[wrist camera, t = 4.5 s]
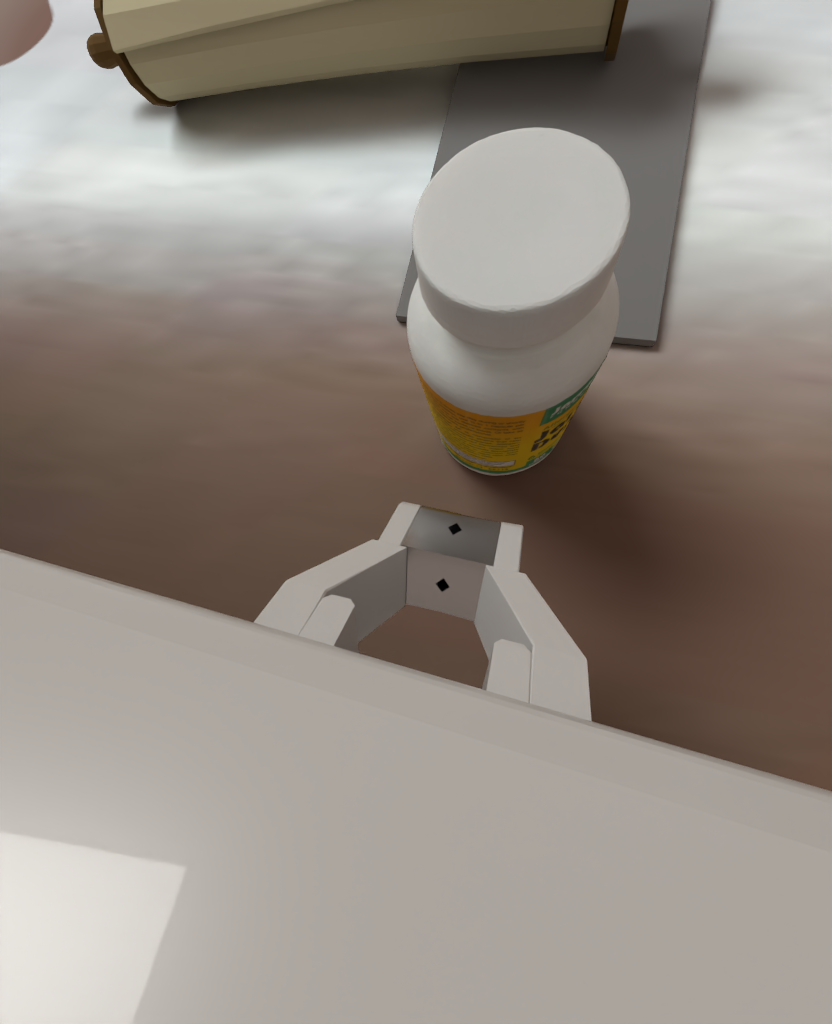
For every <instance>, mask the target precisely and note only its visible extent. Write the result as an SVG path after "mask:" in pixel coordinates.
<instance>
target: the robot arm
mask: <svg viewBox="0 0 832 1024" xmlns="http://www.w3.org/2000/svg"><path fill="white" fill-rule="evenodd" d="M523 530H524V528H523V525H518V524H512V523H506V522H497V521H491V520H486V519H481V518H476V517H471V516H466V515H461V514H458V513H453V512H449V511H444V510H440V509H435V508H431V507H426V506H421V505H417V504H412V503H407V502H401V503H400V504H399V505H398V507H397V508H396V510H395V512H394V514H393V515H392V517H391V519H390V521H389V522H388V524H387V526H386V528H385V529H384V531H383V533H382V535H381V536H380V538H379V540H373V539H372V540H370V541H368V542H366V543H364V544H362V545H360V546H358V547H355V548H353V549H351V550H349V551H347V552H345V553H343V554H341V555H339V556H336V557H334V558H332V559H330V560H328V561H326V562H324V563H322V564H320V565H318V566H315V567H313V568H311V569H309V570H307V571H305V572H303V573H301V574H299V575H296V576H294V577H292V578H290V579H288V580H286V581H285V582H284V584H283V585H282V586H281V588H280V589H279V590H278V591H277V593H276V594H275V595H274V597H273V598H272V599H271V601H270V602H269V603H268V604H267V606H266V607H265V608H264V610H263V611H262V612H261V613H260V615H259V616H258V617H257V619H256V620H255V621H254V622H250V621H246V620H243V619H240V618H236V617H233V616H229V615H226V614H223V613H219V612H216V611H212V610H209V609H205V608H202V607H199V606H195V605H192V604H188V603H185V602H181V601H178V600H175V599H171V598H168V597H164V596H161V595H157V594H154V593H151V592H147V591H144V590H140V589H137V588H133V587H130V586H127V585H123V584H120V583H116V582H113V581H109V580H106V579H103V578H99V577H96V576H92V575H89V574H85V573H82V572H79V571H75V570H72V569H68V568H65V567H61V566H58V565H55V564H51V563H48V562H44V561H41V560H37V559H34V558H30V557H27V556H24V555H20V554H17V553H13V552H10V551H6V550H3V549H0V1024H832V791H829V790H825V789H822V788H818V787H815V786H812V785H808V784H805V783H801V782H798V781H795V780H791V779H788V778H784V777H781V776H777V775H774V774H771V773H767V772H764V771H760V770H757V769H753V768H750V767H747V766H743V765H740V764H736V763H733V762H730V761H726V760H723V759H719V758H716V757H712V756H709V755H706V754H702V753H699V752H695V751H692V750H688V749H685V748H682V747H678V746H675V745H671V744H668V743H665V742H661V741H658V740H654V739H651V738H647V737H644V736H641V735H637V734H634V733H630V732H627V731H623V730H620V729H617V728H613V727H610V726H606V725H603V724H600V723H596V722H593V721H591V708H590V695H589V681H588V668H587V659H586V658H585V656H584V655H583V654H582V652H581V651H580V649H579V648H578V647H577V645H576V644H575V642H574V641H573V640H572V638H571V637H570V635H569V634H568V633H567V631H566V630H565V628H564V627H563V626H562V624H561V623H560V621H559V620H558V619H557V617H556V616H555V614H554V613H553V612H552V610H551V609H550V607H549V606H548V605H547V603H546V602H545V600H544V599H543V598H542V596H541V595H540V593H539V592H538V591H537V589H536V588H535V586H534V585H533V584H532V582H531V581H530V579H529V578H528V576H527V575H526V574H524V573H520V572H519V569H520V559H521V550H522V540H523ZM405 604H409V605H413V606H417V607H422V608H426V609H430V610H435V611H439V612H443V613H446V614H450V615H453V616H457V617H460V618H464V619H467V620H471V621H474V624H475V626H476V629H477V631H478V634H479V636H480V639H481V641H482V644H483V646H484V649H485V652H486V654H487V657H488V659H489V664H488V668H487V672H486V675H485V679H484V683H483V686H482V689H479V688H476V687H472V686H469V685H466V684H462V683H459V682H455V681H452V680H448V679H445V678H442V677H438V676H435V675H431V674H428V673H424V672H421V671H418V670H414V669H411V668H407V667H404V666H401V665H397V664H394V663H390V662H387V661H383V660H380V659H377V658H373V657H370V656H366V655H363V654H359V651H358V642H359V641H361V640H362V639H363V638H364V637H366V636H367V635H368V634H370V633H371V632H372V631H373V630H375V629H376V628H377V627H379V626H380V625H381V624H382V623H384V622H385V621H386V620H388V619H389V618H390V617H391V616H393V615H394V614H395V613H396V612H398V611H399V610H400V609H402V608H403V607H404V606H405Z"/></svg>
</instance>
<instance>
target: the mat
mask: <svg viewBox="0 0 832 1024" xmlns="http://www.w3.org/2000/svg"><path fill="white" fill-rule="evenodd" d="M710 2H711V0H629V1H628V6H627V10H626V14H625V19H624V23H623V27H622V31H621V36H620V40H619V44H618V48H617V52H616V56H615V60H614V61H604V59H605V54H606V49H607V46H605V47H604V51H599V52H587V53H575V54H563V55H551V56H539V57H527V58H515V59H503V60H490V61H478V62H468V63H460V66H459V70H458V74H457V78H456V82H455V86H454V90H453V94H452V98H451V102H450V106H449V110H448V114H447V117H446V121H445V125H444V129H443V133H442V137H441V141H440V145H439V149H438V153H437V157H436V161H435V164H434V168H433V172H432V176H431V180H432V178H433V177H434V176H435V175H436V173H437V172H438V171H439V170H440V169H441V168H442V167H443V166H444V165H445V164H446V163H447V162H449V160H450V159H452V158H453V157H454V156H455V155H456V154H458V153H459V152H460V151H462V150H464V149H465V148H467V147H468V146H470V145H471V144H473V143H475V142H477V141H479V140H482V139H485V138H487V137H489V136H491V135H495V134H498V133H502V132H506V131H510V130H516V129H522V128H533V127H541V128H554V129H560V130H563V131H567V132H570V133H573V134H575V135H578V136H581V137H584V138H586V139H588V140H589V141H591V142H593V143H595V144H597V145H598V146H600V147H601V148H602V149H603V150H604V151H605V152H606V153H607V154H609V155H610V156H611V157H612V158H613V159H614V161H615V162H616V164H617V165H618V166H619V168H620V170H621V172H622V174H623V177H624V179H625V181H626V184H627V187H628V191H629V195H630V220H629V224H628V229H627V233H626V236H625V239H624V242H623V246H622V248H621V251H620V254H619V257H618V259H617V262H616V265H615V267H614V270H613V272H614V275H615V278H616V282H617V286H618V292H619V318H618V323H617V328H616V332H615V336H614V338H613V341H612V343H621V344H631V345H641V346H651V347H652V346H653V344H654V343H655V342H656V339H657V332H658V326H659V320H660V314H661V308H662V301H663V295H664V289H665V283H666V276H667V270H668V264H669V258H670V251H671V245H672V239H673V233H674V227H675V220H676V214H677V208H678V202H679V195H680V189H681V183H682V177H683V171H684V164H685V158H686V152H687V146H688V139H689V133H690V127H691V121H692V115H693V108H694V102H695V96H696V90H697V83H698V77H699V71H700V65H701V58H702V52H703V46H704V40H705V34H706V27H707V21H708V15H709V9H710ZM431 180H430V181H431ZM417 278H418V272H417V267H416V262H415V257H414V250H413V251H412V255H411V259H410V262H409V266H408V270H407V274H406V278H405V282H404V286H403V290H402V294H401V298H400V302H399V306H398V310H397V313H396V317H397V320H398V321H400V322H407V313H408V306H409V301H410V297H411V294H412V291H413V288H414V286H415V283H416V281H417Z"/></svg>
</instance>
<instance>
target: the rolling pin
mask: <svg viewBox="0 0 832 1024" xmlns="http://www.w3.org/2000/svg"><path fill="white" fill-rule="evenodd" d="M628 1H629V0H94V10H95V13H96V15H97V18H98V21H99V24H100V27H101V29H102V32H103V33H95V34H93V35H91V36H90V37H89V38H88V41H87V49H88V52H89V54H90V56H91V58H92V59H93V61H94V62H95V63H96V64H97V65H98V66H100V67H102V68H106V69H112V68H115V67H116V66H118V65H119V67H120V69H121V70H122V72H123V73H124V75H125V77H126V78H127V80H128V81H129V83H130V84H131V86H133V87H134V88H135V89H136V90H137V91H138V92H139V93H140V94H142V95H143V96H144V97H145V98H146V99H147V100H148V101H149V102H151V103H152V104H153V105H160V106H167V107H172V106H176V104H177V103H178V101H179V100H183V99H190V98H196V97H202V96H209V95H215V94H222V93H228V92H234V91H241V90H247V89H254V88H260V87H267V86H275V85H282V84H290V83H297V82H305V81H312V80H320V79H327V78H335V77H342V76H350V75H357V74H366V73H375V72H384V71H394V70H403V69H412V68H421V67H431V66H440V65H449V64H459V63H468V62H478V61H490V60H503V59H515V58H527V57H539V56H551V55H563V54H575V53H587V52H599V51H604V47H605V46H607V49H606V54H605V59H604V61H614V60H615V56H616V52H617V48H618V44H619V40H620V36H621V31H622V27H623V23H624V19H625V14H626V10H627V6H628Z"/></svg>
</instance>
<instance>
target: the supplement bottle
mask: <svg viewBox="0 0 832 1024" xmlns="http://www.w3.org/2000/svg"><path fill="white" fill-rule="evenodd" d="M629 220H630V195H629V191H628V187H627V184H626V181H625V179H624V177H623V174H622V172H621V170H620V168H619V166H618V165H617V164H616V162H615V161H614V159H613V158H612V157H611V156H610V155H609V154H607V153H606V152H605V151H604V150H603V149H602V148H601V147H600V146H598V145H597V144H595V143H593V142H591V141H589V140H588V139H586V138H584V137H581V136H578V135H575V134H573V133H570V132H567V131H563V130H560V129H554V128H541V127H533V128H522V129H516V130H510V131H506V132H502V133H498V134H495V135H491V136H489V137H487V138H485V139H482V140H479V141H477V142H475V143H473V144H471V145H470V146H468V147H467V148H465V149H464V150H462V151H460V152H459V153H458V154H456V155H455V156H454V157H453V158H452V159H450V160H449V162H447V163H446V164H445V165H444V166H443V167H442V168H441V169H440V170H439V171H438V172H437V173H436V175H435V176H434V177H433V178H432V180H431V181H430V183H429V184H428V185H427V187H426V188H425V190H424V192H423V194H422V196H421V198H420V201H419V203H418V206H417V209H416V212H415V216H414V220H413V233H412V243H413V250H414V257H415V262H416V267H417V272H418V278H417V281H416V283H415V286H414V288H413V291H412V294H411V297H410V301H409V306H408V313H407V335H408V342H409V347H410V351H411V355H412V358H413V361H414V364H415V367H416V369H417V372H418V375H419V378H420V381H421V384H422V386H423V389H424V392H425V395H426V398H427V401H428V404H429V407H430V409H431V412H432V415H433V418H434V421H435V424H436V427H437V430H438V433H439V435H440V438H441V440H442V442H443V444H444V446H445V447H446V449H447V450H448V452H449V453H450V454H451V455H452V457H453V458H454V459H455V460H457V461H458V462H459V463H460V464H462V465H463V466H465V467H467V468H469V469H470V470H473V471H475V472H478V473H482V474H485V475H492V476H499V475H509V474H513V473H517V472H521V471H524V470H526V469H528V468H530V467H532V466H534V465H536V464H537V463H539V462H540V461H542V460H543V459H544V458H546V457H547V456H548V455H549V454H550V452H551V451H552V450H553V449H554V447H555V446H556V444H557V443H558V441H559V440H560V438H561V436H562V434H563V432H564V431H565V429H566V427H567V425H568V423H569V422H570V420H571V418H572V416H573V414H574V413H575V411H576V409H577V408H578V406H579V404H580V403H581V400H582V399H583V397H584V395H585V394H586V392H587V390H588V388H589V386H590V384H591V383H592V381H593V379H594V377H595V376H596V374H597V372H598V370H599V369H600V367H601V365H602V363H603V362H604V360H605V358H606V357H607V354H608V351H609V349H610V346H611V344H612V341H613V338H614V336H615V332H616V328H617V323H618V318H619V292H618V286H617V282H616V278H615V275H614V272H613V270H614V267H615V265H616V262H617V259H618V257H619V254H620V251H621V248H622V246H623V242H624V239H625V236H626V233H627V229H628V224H629Z"/></svg>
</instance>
